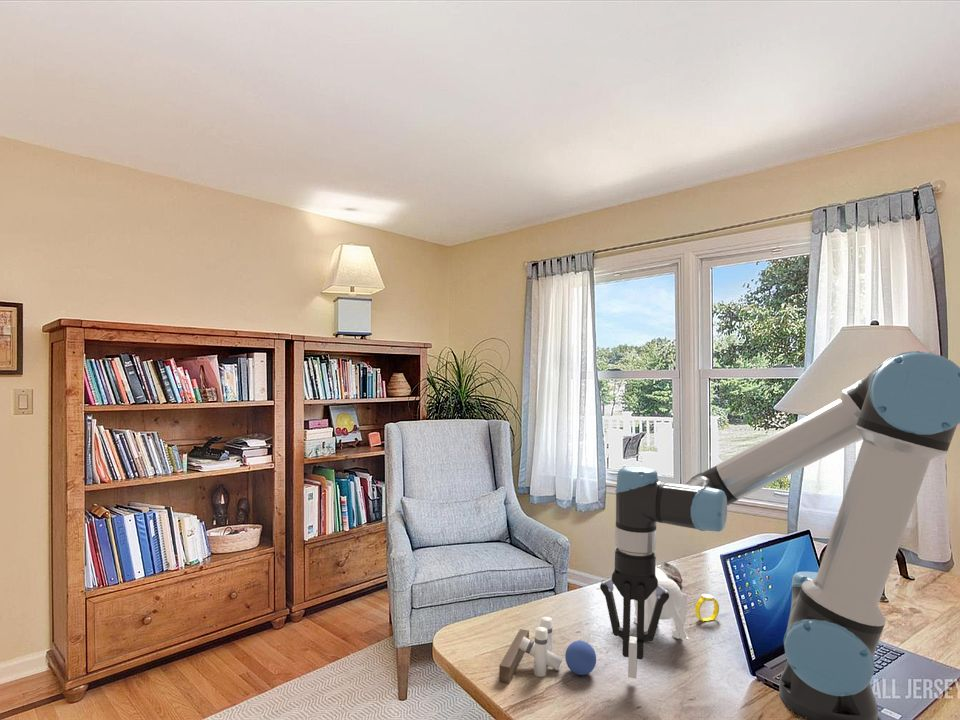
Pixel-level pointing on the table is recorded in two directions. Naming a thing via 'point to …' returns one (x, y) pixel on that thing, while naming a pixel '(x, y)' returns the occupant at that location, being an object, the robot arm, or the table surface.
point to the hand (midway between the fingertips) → (632, 674)
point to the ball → (580, 657)
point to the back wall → (512, 658)
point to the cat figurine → (667, 605)
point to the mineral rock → (671, 573)
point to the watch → (697, 608)
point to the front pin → (529, 648)
